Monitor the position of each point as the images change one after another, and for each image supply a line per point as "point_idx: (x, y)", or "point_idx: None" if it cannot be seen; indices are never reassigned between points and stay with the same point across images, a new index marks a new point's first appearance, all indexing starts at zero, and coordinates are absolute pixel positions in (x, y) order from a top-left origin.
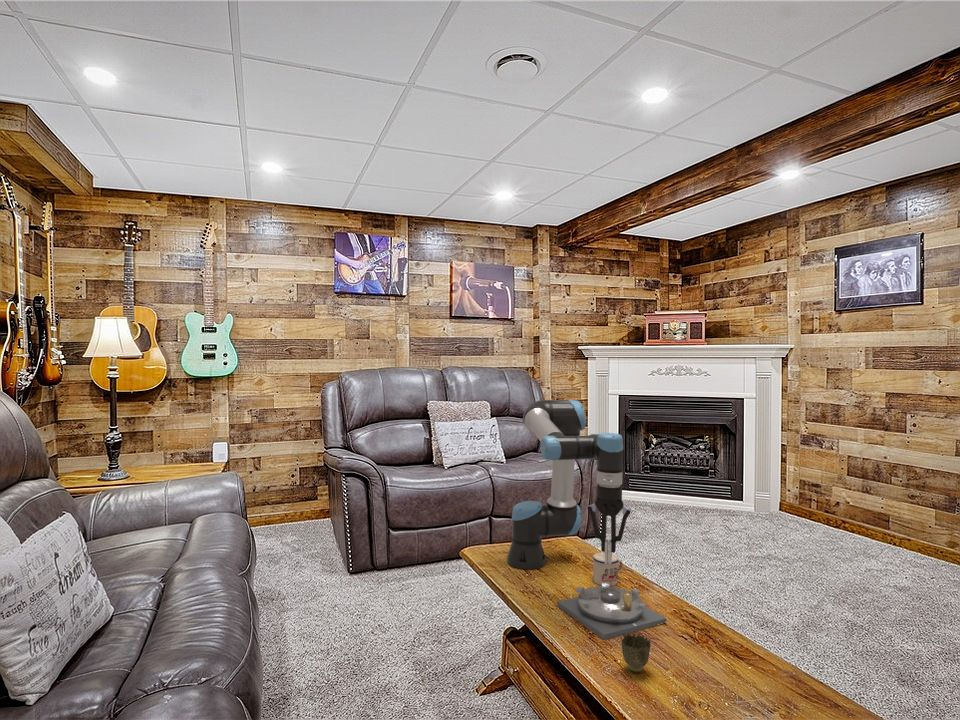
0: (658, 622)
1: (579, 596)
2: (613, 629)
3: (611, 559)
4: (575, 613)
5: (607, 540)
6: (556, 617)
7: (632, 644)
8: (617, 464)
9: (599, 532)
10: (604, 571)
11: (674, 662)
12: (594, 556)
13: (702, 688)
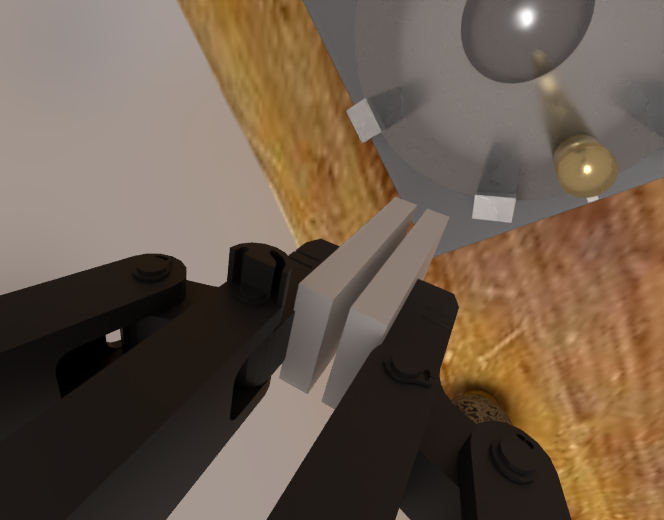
0: None
1: (360, 15)
2: (476, 225)
3: (430, 260)
4: (355, 95)
5: (315, 332)
6: (298, 94)
7: (476, 413)
8: None
9: (137, 319)
10: None
11: (635, 398)
12: None
13: (645, 506)
